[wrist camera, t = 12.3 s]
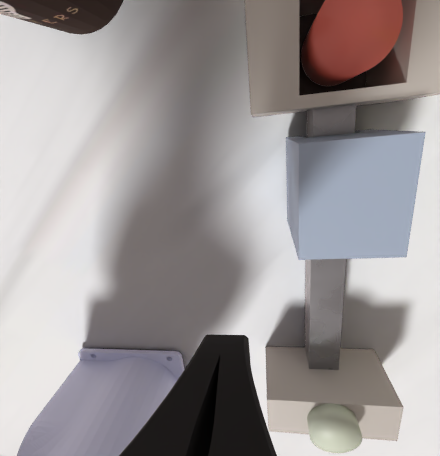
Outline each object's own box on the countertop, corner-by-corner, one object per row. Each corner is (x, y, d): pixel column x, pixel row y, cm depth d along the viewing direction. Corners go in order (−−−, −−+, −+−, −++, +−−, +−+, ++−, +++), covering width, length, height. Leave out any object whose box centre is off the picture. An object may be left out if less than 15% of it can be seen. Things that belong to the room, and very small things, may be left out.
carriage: (287, 219, 17) (298, 259, 12) (286, 137, 16) (298, 143, 10) (361, 216, 17) (406, 257, 11) (368, 129, 15) (425, 131, 10)
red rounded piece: (300, 89, 14) (313, 79, 11) (301, 19, 13) (315, -17, 10) (363, 82, 13) (397, 68, 10) (369, 8, 12) (408, -34, 9)
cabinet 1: (253, 117, 16) (251, 114, 12) (247, 13, 14) (242, -34, 10) (404, 100, 14) (462, 90, 10) (418, -17, 13) (495, -85, 9)
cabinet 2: (267, 374, 23) (269, 447, 17) (265, 346, 22) (267, 414, 16) (370, 379, 21) (404, 459, 16) (373, 349, 20) (412, 424, 15)
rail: (304, 347, 21) (308, 368, 19) (306, 111, 15) (313, 109, 13) (331, 348, 21) (338, 370, 19) (344, 106, 15) (356, 104, 13)
